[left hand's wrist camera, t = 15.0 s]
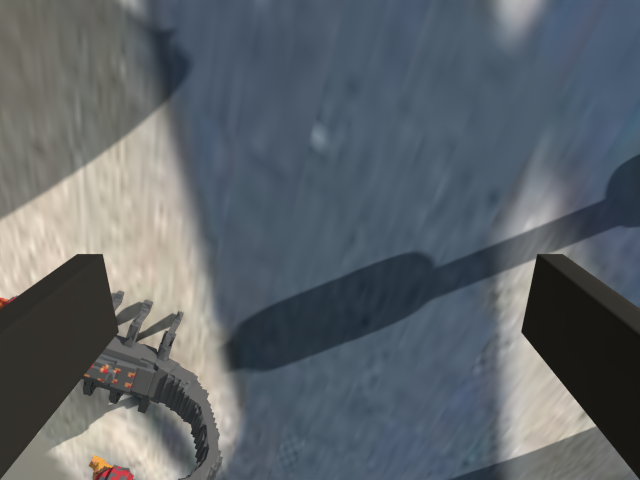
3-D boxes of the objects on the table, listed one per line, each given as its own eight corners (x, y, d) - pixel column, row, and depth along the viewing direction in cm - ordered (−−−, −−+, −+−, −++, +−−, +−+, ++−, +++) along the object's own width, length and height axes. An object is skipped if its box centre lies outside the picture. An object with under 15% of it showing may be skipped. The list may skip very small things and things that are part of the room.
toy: (223, 422, 52) (175, 591, 34) (4, 353, 48) (-172, 504, 31) (259, 339, 47) (225, 486, 30) (21, 256, 43) (-173, 369, 26)
